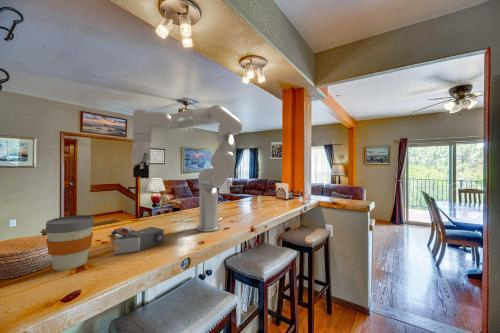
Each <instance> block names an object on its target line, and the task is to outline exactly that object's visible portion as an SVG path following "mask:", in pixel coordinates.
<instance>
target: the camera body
mask: <svg viewBox="0 0 500 333" xmlns="http://www.w3.org/2000/svg"><path fill="white" fill-rule="evenodd" d="M164 231H165V230H164V228H159V227H155V226H154V227H153V226H149V227H146V228H141V229H139V230H135V231H134V232H131V233H128V239H130V238H138V237H140V251H139V252H141V251H143V250H146V249H149V248H151V247H154V246H157V245H160V244H162V243H164V242H165V241H164V236H165V235H164V234H165V233H164Z"/></svg>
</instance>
